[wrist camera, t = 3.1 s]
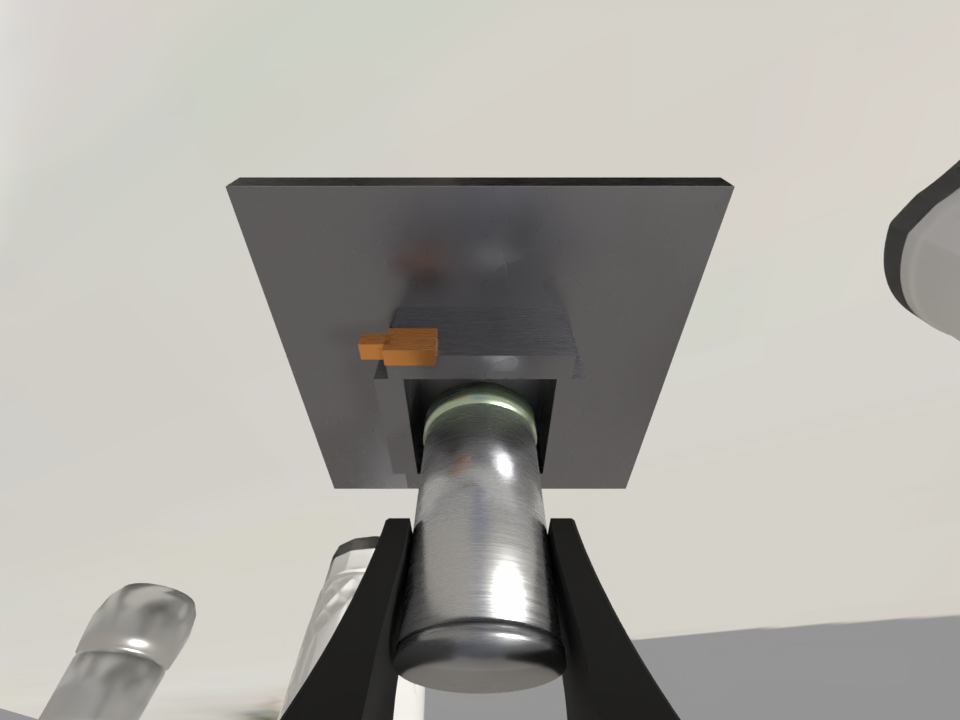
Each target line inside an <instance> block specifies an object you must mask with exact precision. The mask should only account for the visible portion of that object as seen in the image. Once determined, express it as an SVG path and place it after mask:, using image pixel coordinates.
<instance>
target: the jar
mask: <svg viewBox="0 0 960 720" xmlns="http://www.w3.org/2000/svg"><path fill="white" fill-rule="evenodd" d="M884 272H885V277H886V280H887V284H888V286H889V288H890V290H891V292H892V294H893V295H894V297H895V298H896V300H897V301H898V302H899V303H900V304H901V305H902V306H903V307H904V308H905V309H907V310H908V311H909V312H911V313H912V314H914V315H915V316H917V317H918V318H920V319H921V320H923V321H924V322H926V323H927V324H929V325H930V326H932V327H933V328H935V329H937V330H939V331H941V332H943V333H945V334H948V335H951V336H952V337H954V338H955V339H957V340H959V341H960V160H959V161H958V162H957V163H956V164H954V165H953V166H952V167H951V168H950V169H949V170H948V171H946V172H945V173H944V174H943V175H942V176H940V177H939V178H938V179H937V180H936V181H934V182H933V183H932V184H930V185H929V186H928V187H926V188H925V189H924V190H922V191H921V192H919V193H918V194H917V195H916V196H915V197H914V198H913V199H912V200H911V201H910V202H909V203H908V204H907V205H906V206H905V207H904V208H903V209H902V210H901V211H900V212H899V213H898V215H897V216H896V217H895V218H894V219H893V220H892V221H891V222H890V225H889V228H888V232H887V236H886V240H885V247H884Z"/></svg>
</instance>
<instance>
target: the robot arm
mask: <svg viewBox="0 0 960 720" xmlns="http://www.w3.org/2000/svg"><path fill="white" fill-rule="evenodd" d="M412 535H413V532H412V527H411V521H410V518H389V519H387V520H386V521H385V524H384V527H383V530H382V533H381V535H380V538H379V540H378V543H377V545H376V548H375V550H374V553H373V555H372V557H371V560H370V562H369V564H368V566H367V569H366V571H365V573H364V575H363V577H362V579H361V581H360V583H359V585H358V588H357V590H356V592H355V594H354V596H353V598H352V600H351V602H350V604H349V606H348V608H347V609H346V611H345V613H344V615H343V617H342V619H341V621H340V622H339V624H338V626H337V628H336V630H335V632H334V633H333V635H332V637H331V639H330V641H329V642H328V644H327V646H326V648H325V649H324V651H323V653H322V654H321V656H320V658H319V659H318V661H317V663H316V664H315V666H314V668H313V669H312V671H311V673H310V674H309V676H308V677H307V679H306V681H305V682H304V684H303V685H302V687H301V688H300V690H299V691H298V693H297V694H296V696H295V698H294V699H293V701H292V702H291V704H290V705H289V707H288V708H287V710H286V711H285V713H284V714H283V716H282V717H281V719H280V720H393V717H394V707H395V697H396V689H397V682H398V674H397V673H396V671H395V669H394V666H393V663H394V656H395V649H396V645H397V644H398V642H399V634H400V626H401V619H402V611H403V604H404V596H405V588H406V581H407V573H408V566H409V558H410V551H411V543H412ZM548 541H549V549H550V556H551V564H552V571H553V579H554V587H555V594H556V602H557V609H558V617H559V624H560V632H561V640H562V643H563V645H564V648H565V654H566V661H567V667H566V670H565V672H564V673H563V674H562V679H563V686H564V693H565V701H566V711H567V720H681V719H680V718H679V716H678V715H677V713H676V712H675V711H674V709H673V708H672V706H671V704H670V703H669V701H668V700H667V698H666V697H665V695H664V694H663V692H662V691H661V689H660V688H659V686H658V685H657V683H656V681H655V680H654V678H653V677H652V675H651V673H650V672H649V670H648V668H647V667H646V665H645V664H644V662H643V660H642V659H641V657H640V655H639V654H638V652H637V650H636V648H635V647H634V645H633V643H632V642H631V640H630V638H629V636H628V634H627V633H626V631H625V629H624V627H623V625H622V624H621V622H620V620H619V618H618V616H617V614H616V612H615V611H614V609H613V607H612V605H611V603H610V601H609V599H608V597H607V595H606V593H605V591H604V589H603V587H602V585H601V583H600V581H599V579H598V576H597V574H596V572H595V570H594V568H593V565H592V563H591V561H590V559H589V556H588V554H587V552H586V549H585V547H584V544H583V542H582V539H581V537H580V534H579V531H578V529H577V526H576V523H575V520H573V519H572V518H551V519H550V524H549V529H548Z"/></svg>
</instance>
